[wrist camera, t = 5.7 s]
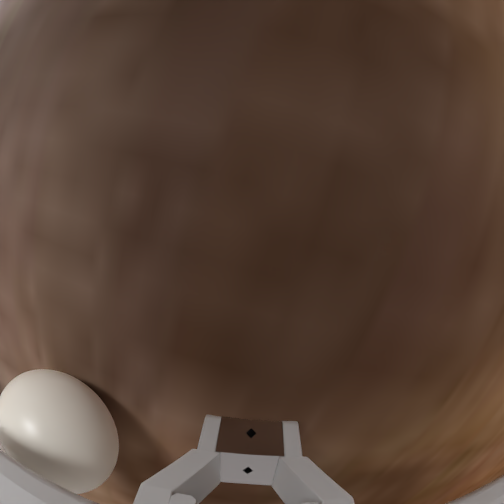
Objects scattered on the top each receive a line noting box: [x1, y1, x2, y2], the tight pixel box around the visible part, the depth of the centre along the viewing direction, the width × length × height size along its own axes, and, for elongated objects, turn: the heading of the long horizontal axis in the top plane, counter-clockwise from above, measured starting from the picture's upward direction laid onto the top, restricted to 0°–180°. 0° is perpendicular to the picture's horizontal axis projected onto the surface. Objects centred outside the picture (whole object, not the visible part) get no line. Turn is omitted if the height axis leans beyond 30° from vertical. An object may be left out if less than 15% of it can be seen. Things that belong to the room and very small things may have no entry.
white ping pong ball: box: [0, 369, 119, 494], centre depth 8 cm, size 6×6×6 cm
